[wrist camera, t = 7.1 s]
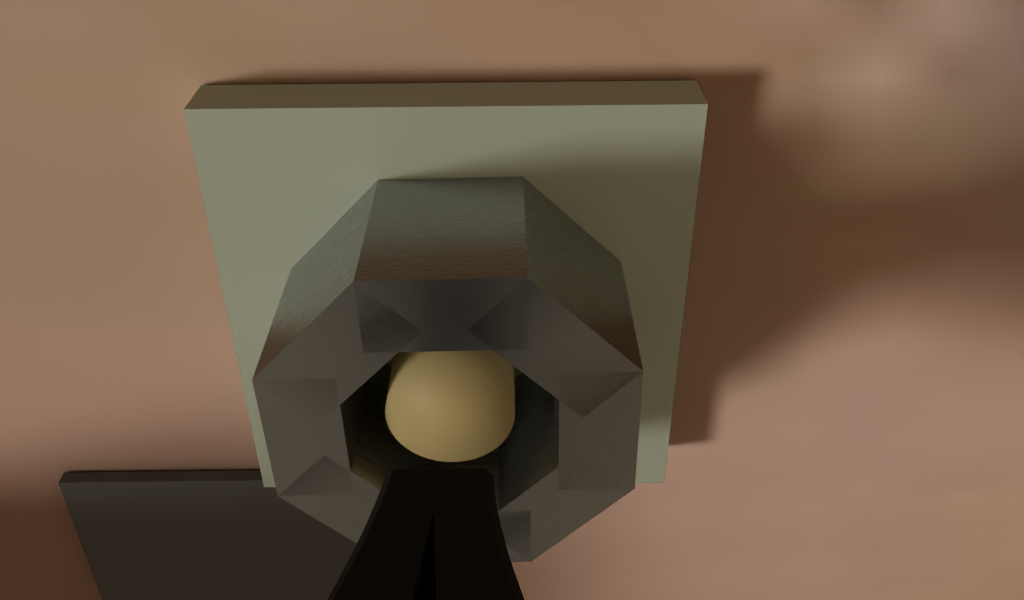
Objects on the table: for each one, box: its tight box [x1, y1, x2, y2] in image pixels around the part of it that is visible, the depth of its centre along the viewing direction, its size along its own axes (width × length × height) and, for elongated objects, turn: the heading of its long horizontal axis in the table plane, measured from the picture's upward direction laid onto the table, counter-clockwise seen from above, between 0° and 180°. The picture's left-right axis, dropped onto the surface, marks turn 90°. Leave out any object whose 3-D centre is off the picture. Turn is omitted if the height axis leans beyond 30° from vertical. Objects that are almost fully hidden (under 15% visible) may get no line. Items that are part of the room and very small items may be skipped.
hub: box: [184, 80, 708, 487], centre depth 16 cm, size 8×8×4 cm
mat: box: [59, 470, 357, 600], centre depth 22 cm, size 7×7×1 cm
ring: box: [252, 177, 643, 562], centre depth 15 cm, size 6×6×3 cm
